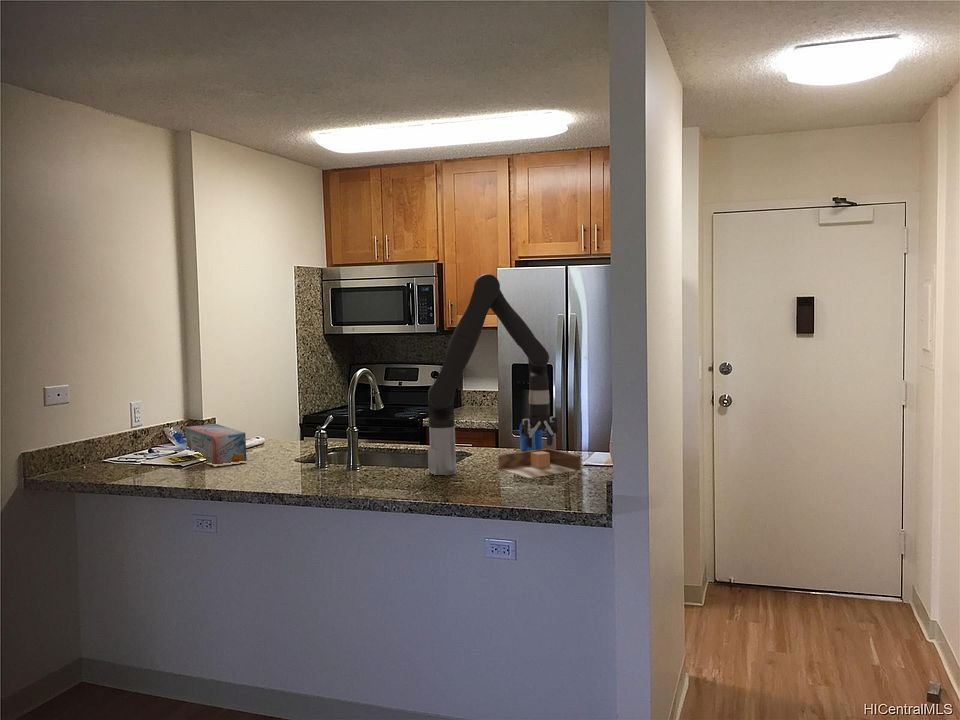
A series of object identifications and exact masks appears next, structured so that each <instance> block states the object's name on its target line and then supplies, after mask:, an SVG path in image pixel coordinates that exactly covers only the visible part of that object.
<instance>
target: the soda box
mask: <svg viewBox="0 0 960 720" xmlns="http://www.w3.org/2000/svg"><path fill="white" fill-rule="evenodd" d="M246 440H247V438H246V432H244V431H240V430H237V429H236V428H235V429H234V428H230V427H227V426H223V425H220V424H218V423H210V424H208V423H207V424H201V425H192V426H191V425H190V426H185V442H186V443H185V444H186V447H187V446H188V447H189V448H191V449H193V450H195V451H197V452H199V453H201V454H202V455H203V456H204V457H205V458H206V460H207V461H208V462H210V463H212V464H223V463H231V462H239V461H246V460H247V461H248V459H247V441H246Z"/></svg>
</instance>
